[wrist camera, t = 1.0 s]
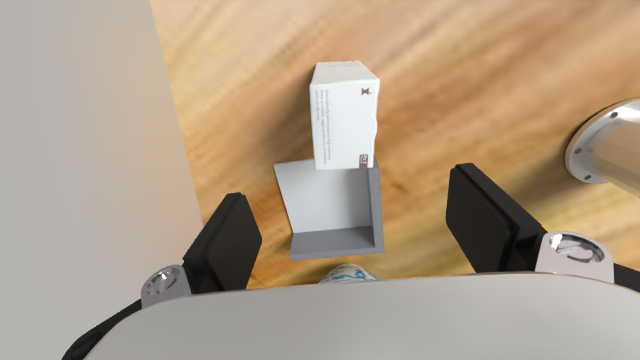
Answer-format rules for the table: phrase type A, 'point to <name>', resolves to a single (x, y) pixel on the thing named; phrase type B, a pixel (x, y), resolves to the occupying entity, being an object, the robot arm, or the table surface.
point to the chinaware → (347, 274)
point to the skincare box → (343, 115)
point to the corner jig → (332, 209)
